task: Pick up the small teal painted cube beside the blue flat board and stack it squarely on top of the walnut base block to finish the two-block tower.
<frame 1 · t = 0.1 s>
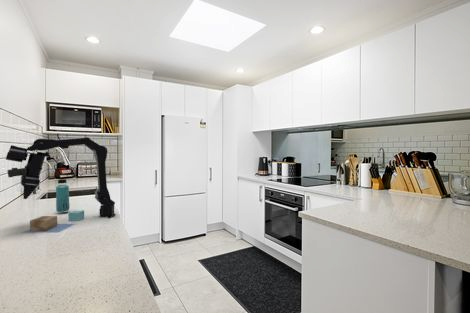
hand: (24, 197, 108), 15 cm above the countertop, tool pointing down, fingers open, 9 cm apart
teal cube: (76, 221, 124), on the countertop
beverage bottle: (62, 213, 139), on the countertop
blue flat board: (50, 229, 110), on the countertop
walnut base block: (44, 228, 109), point 1 cm above the countertop, touching blue flat board
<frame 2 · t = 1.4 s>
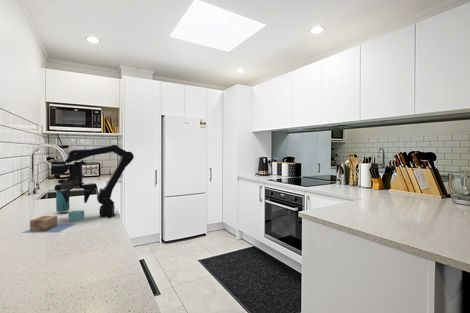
hand: (76, 203, 123), 9 cm above the countertop, tool pointing down, fingers open, 9 cm apart
nothing on the countertop moved.
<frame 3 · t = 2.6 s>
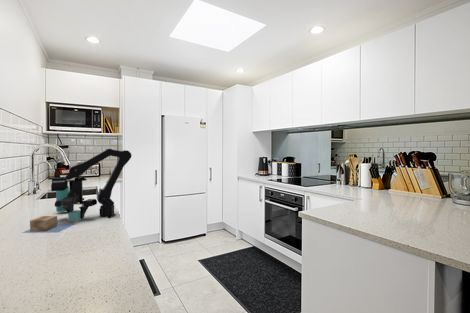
hand: (76, 218, 124), 1 cm above the countertop, tool pointing down, fingers closed on teal cube, 5 cm apart
teal cube: (76, 220, 124), on the countertop, touching gripper
everything else where it was.
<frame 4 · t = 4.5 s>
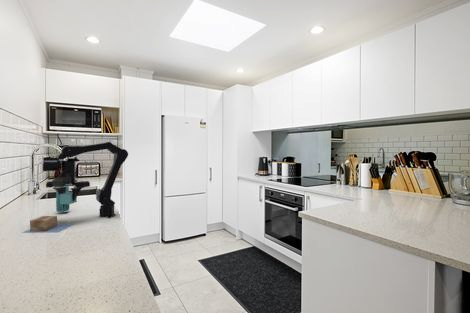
hand: (68, 201, 120), 11 cm above the countertop, tool pointing down, fingers closed on teal cube, 5 cm apart
teal cube: (68, 203, 120), point 10 cm above the countertop, touching gripper
everything else where it was.
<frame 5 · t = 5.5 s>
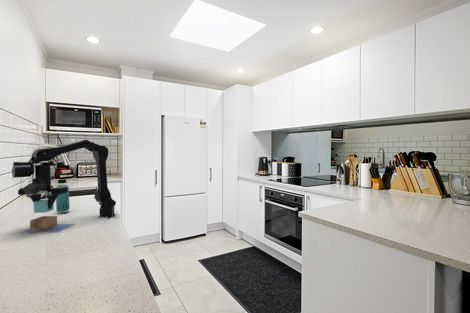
hand: (43, 209, 109), 10 cm above the countertop, tool pointing down, fingers closed on teal cube, 5 cm apart
teal cube: (44, 211, 109), point 9 cm above the countertop, touching gripper
everything else where it was.
when the fingers open (8 cm above the countertop, at t = 6.3 s): teal cube drops 1 cm, resting on walnut base block.
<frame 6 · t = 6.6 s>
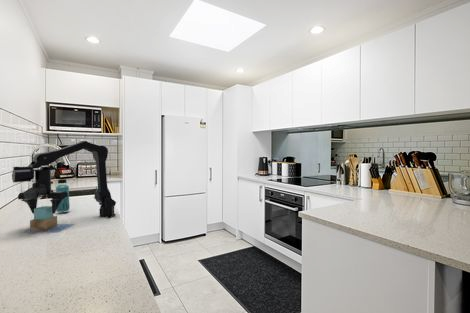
hand: (43, 213, 109), 8 cm above the countertop, tool pointing down, fingers open, 9 cm apart
teal cube: (44, 218, 109), point 6 cm above the countertop, touching walnut base block
walnut base block: (44, 228, 109), point 1 cm above the countertop, touching blue flat board, teal cube
everything else where it was.
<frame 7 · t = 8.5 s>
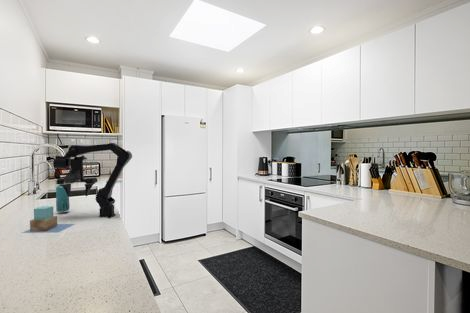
hand: (77, 196, 129), 12 cm above the countertop, tool pointing down, fingers open, 9 cm apart
nothing on the countertop moved.
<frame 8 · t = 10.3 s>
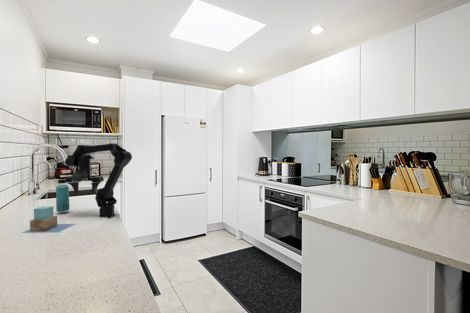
hand: (84, 194, 134), 12 cm above the countertop, tool pointing down, fingers open, 9 cm apart
nothing on the countertop moved.
at the end: teal cube 0.1 cm off-centre on the walnut base block, point 5.0 cm above the walnut base block's base; teal cube tilted 0°; walnut base block moved 0.0 cm from its start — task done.
